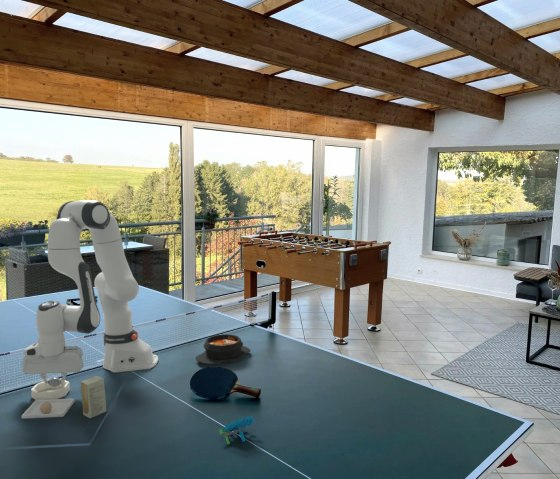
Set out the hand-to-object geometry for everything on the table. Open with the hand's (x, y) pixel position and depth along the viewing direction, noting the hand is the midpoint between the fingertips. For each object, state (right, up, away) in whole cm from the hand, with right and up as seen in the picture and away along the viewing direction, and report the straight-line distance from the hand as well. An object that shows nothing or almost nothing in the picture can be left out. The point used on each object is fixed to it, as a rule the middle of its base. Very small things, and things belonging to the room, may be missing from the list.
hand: (54, 384), depth 177 cm
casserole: (+57, +1, +34) cm, 67 cm away
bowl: (-1, -4, 0) cm, 4 cm away
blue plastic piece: (+68, -8, -29) cm, 75 cm away
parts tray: (+4, -6, -12) cm, 13 cm away
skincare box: (+20, -6, -14) cm, 25 cm away
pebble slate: (0, -1, 0) cm, 1 cm away
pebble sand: (+4, -5, -14) cm, 16 cm away
